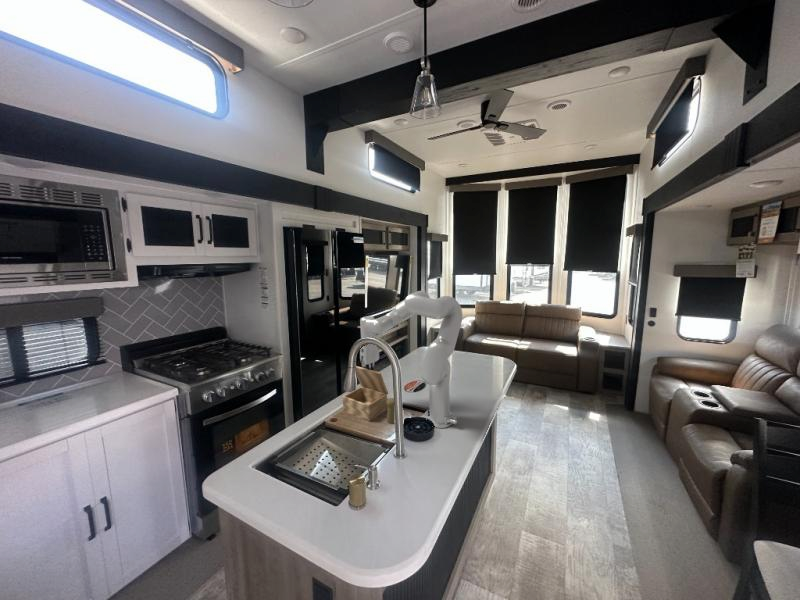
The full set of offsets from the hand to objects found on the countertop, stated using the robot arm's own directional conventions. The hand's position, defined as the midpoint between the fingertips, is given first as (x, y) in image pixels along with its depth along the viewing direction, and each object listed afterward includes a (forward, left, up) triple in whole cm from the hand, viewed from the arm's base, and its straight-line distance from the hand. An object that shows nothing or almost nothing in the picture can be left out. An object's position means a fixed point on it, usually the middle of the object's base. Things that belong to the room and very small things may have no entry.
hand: (370, 374), depth 161 cm
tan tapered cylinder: (-18, +6, -18) cm, 26 cm away
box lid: (0, +1, -3) cm, 3 cm away
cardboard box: (0, +6, -17) cm, 18 cm away
